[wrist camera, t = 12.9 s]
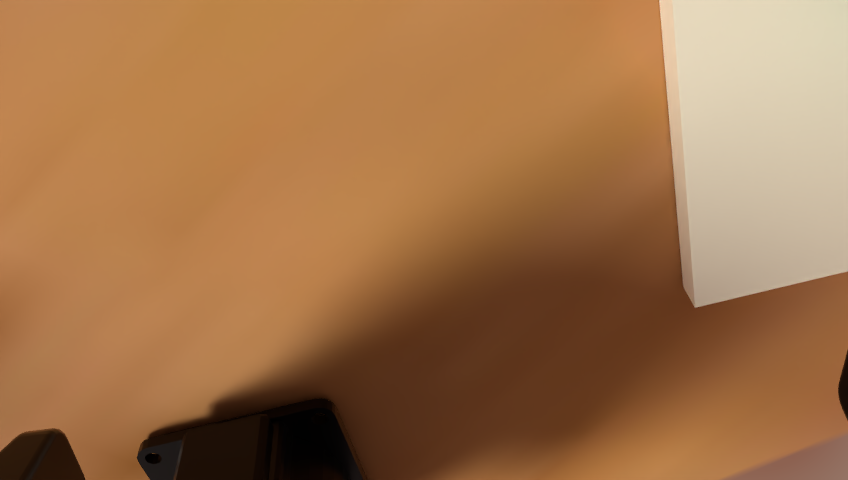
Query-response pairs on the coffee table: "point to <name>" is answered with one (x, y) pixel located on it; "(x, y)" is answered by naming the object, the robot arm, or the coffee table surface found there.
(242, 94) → the coffee table surface
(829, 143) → the neck block
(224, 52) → the coffee table surface
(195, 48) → the coffee table surface
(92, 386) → the coffee table surface
